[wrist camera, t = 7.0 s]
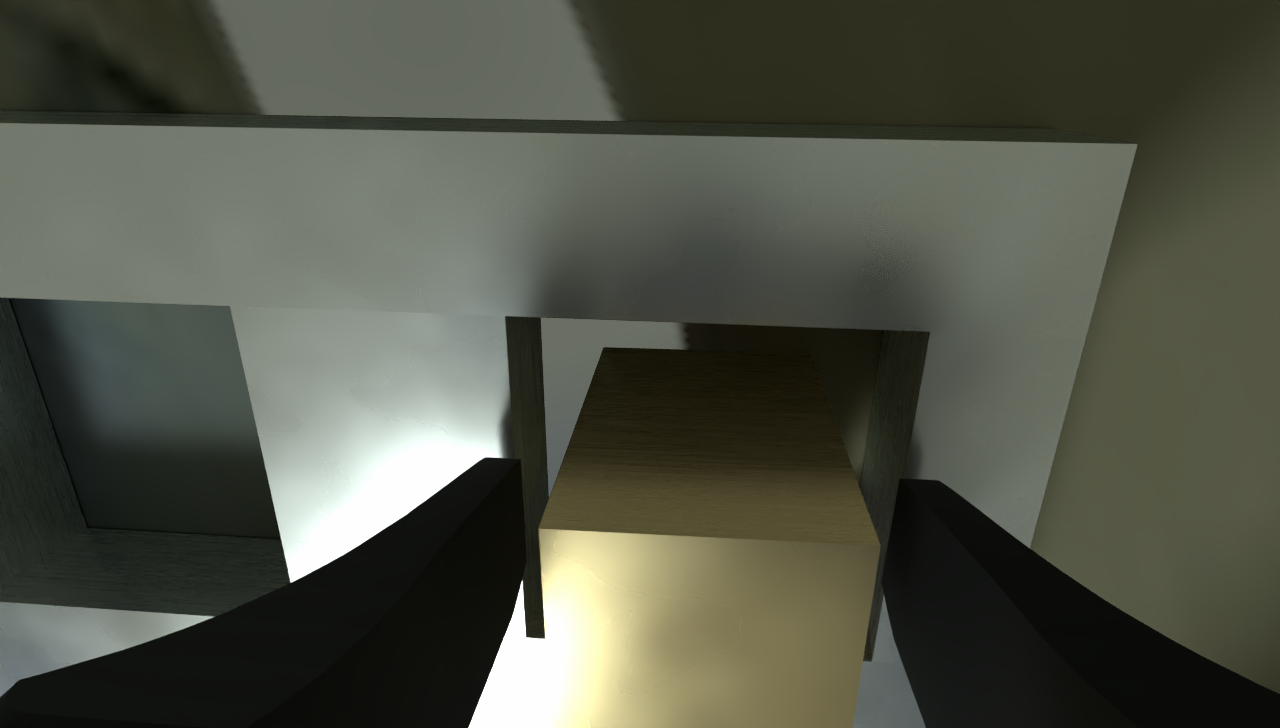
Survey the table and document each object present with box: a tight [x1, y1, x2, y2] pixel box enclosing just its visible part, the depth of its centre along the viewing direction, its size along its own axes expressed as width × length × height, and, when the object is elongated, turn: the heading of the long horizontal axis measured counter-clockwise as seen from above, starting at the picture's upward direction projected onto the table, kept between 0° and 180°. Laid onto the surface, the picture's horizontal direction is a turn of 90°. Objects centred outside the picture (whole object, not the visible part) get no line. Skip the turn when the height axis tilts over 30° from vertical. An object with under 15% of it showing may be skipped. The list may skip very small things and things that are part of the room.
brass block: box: [538, 347, 881, 728], centre depth 12 cm, size 4×4×6 cm
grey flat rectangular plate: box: [0, 111, 1138, 728], centre depth 14 cm, size 22×12×2 cm, turn 89°
